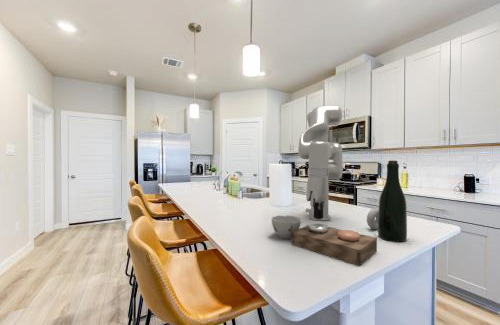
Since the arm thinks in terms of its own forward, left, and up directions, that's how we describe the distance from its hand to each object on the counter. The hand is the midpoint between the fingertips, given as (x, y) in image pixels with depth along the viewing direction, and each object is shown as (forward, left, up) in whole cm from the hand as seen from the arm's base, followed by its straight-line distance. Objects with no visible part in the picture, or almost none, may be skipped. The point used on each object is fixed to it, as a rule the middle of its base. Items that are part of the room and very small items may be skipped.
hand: (318, 218), depth 93 cm
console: (+6, -1, -10) cm, 12 cm away
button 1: (0, -1, -8) cm, 8 cm away
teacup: (-15, -3, -10) cm, 18 cm away
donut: (+10, +35, -10) cm, 38 cm away
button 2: (+12, -1, -8) cm, 15 cm away
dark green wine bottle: (+19, +27, -10) cm, 35 cm away
